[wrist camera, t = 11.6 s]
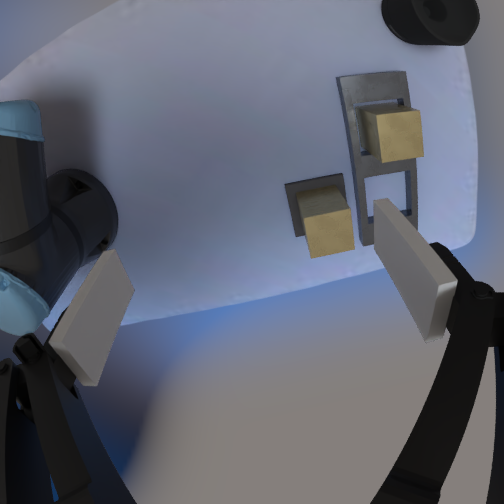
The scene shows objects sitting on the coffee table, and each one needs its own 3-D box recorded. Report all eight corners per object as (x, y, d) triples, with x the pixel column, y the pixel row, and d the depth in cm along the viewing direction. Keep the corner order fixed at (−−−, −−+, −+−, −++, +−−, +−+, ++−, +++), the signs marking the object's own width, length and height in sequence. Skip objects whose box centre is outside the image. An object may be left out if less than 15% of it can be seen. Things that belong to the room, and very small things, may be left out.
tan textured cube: (303, 228, 45) (311, 258, 38) (295, 192, 42) (303, 218, 36) (340, 220, 44) (354, 249, 38) (335, 184, 42) (350, 208, 35)
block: (361, 146, 39) (381, 162, 32) (354, 106, 37) (375, 115, 30) (397, 140, 39) (423, 156, 32) (392, 102, 36) (419, 110, 29)
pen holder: (368, -14, 27) (399, -34, 19) (428, -14, 26) (466, -27, 17) (388, 49, 32) (424, 46, 23) (445, 46, 30) (487, 46, 22)
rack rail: (359, 239, 47) (363, 246, 45) (335, 77, 35) (339, 77, 33) (412, 228, 45) (417, 234, 44) (399, 71, 33) (405, 71, 32)
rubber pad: (295, 235, 46) (295, 237, 46) (284, 184, 42) (285, 185, 42) (348, 224, 45) (349, 226, 45) (341, 172, 41) (342, 174, 41)
